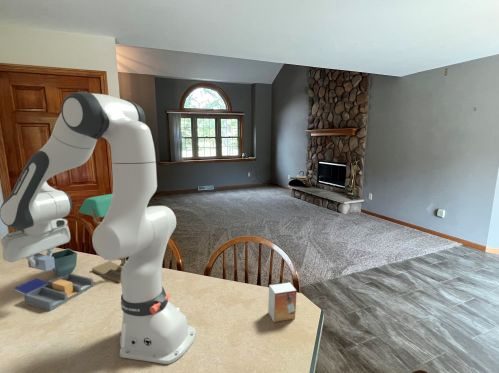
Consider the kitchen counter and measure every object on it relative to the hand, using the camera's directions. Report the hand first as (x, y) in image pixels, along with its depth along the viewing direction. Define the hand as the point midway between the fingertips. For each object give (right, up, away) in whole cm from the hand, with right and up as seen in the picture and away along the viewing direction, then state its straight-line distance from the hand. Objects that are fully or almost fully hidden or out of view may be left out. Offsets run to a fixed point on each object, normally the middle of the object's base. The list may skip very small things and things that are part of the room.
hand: (41, 263), depth 95 cm
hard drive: (-11, -14, +11) cm, 21 cm away
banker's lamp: (+13, -11, +24) cm, 30 cm away
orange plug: (+2, -13, +7) cm, 15 cm away
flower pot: (-8, -11, +24) cm, 28 cm away
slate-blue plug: (0, -2, 0) cm, 2 cm away
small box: (+85, -17, -3) cm, 87 cm away
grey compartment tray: (+2, -14, +8) cm, 16 cm away
